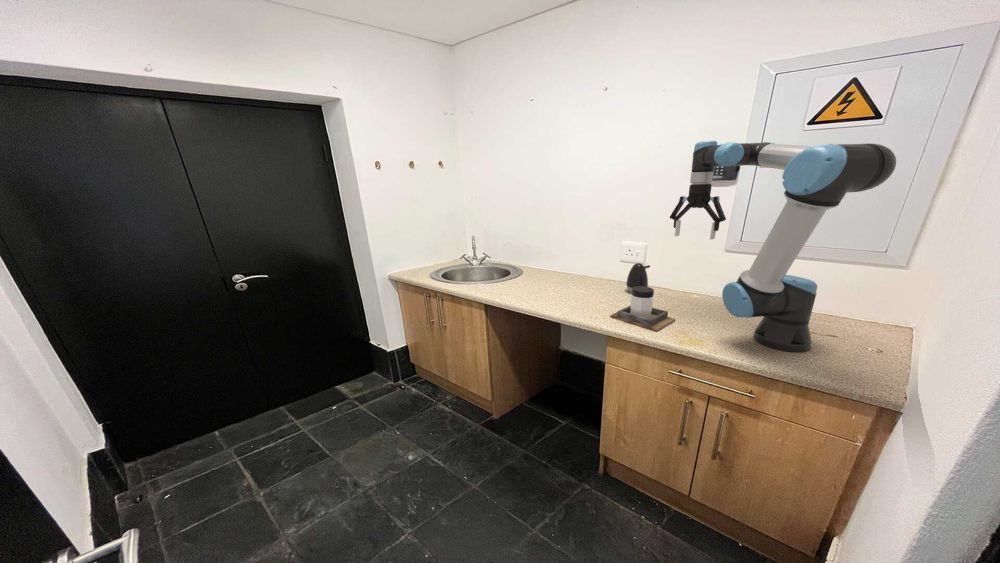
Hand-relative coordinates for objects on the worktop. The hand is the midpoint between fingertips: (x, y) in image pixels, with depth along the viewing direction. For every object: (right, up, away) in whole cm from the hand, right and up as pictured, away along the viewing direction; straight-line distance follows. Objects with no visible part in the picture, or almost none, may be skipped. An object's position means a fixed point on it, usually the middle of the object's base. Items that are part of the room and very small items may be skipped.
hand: (693, 237), depth 137 cm
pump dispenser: (-10, -24, +34) cm, 43 cm away
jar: (-22, -33, +1) cm, 39 cm away
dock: (-21, -34, 0) cm, 40 cm away
